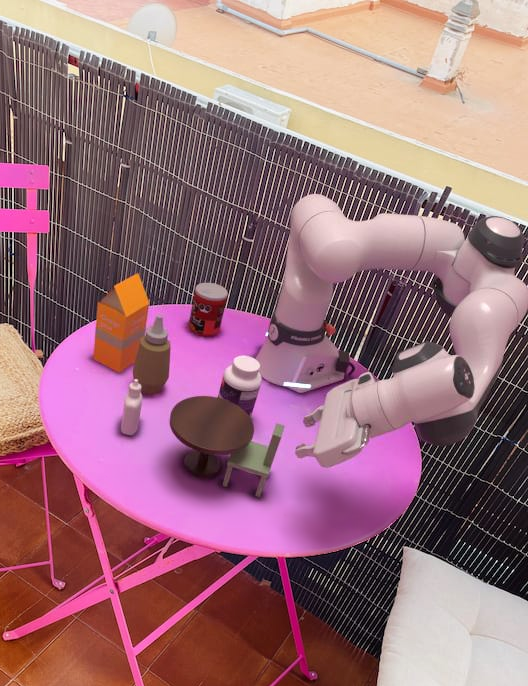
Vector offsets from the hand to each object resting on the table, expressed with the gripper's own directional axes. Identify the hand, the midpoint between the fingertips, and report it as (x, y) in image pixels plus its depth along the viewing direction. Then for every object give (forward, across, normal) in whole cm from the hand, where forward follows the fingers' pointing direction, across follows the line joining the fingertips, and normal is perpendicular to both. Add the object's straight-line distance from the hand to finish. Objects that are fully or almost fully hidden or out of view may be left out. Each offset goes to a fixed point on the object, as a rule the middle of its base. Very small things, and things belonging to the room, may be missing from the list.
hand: (301, 437), depth 124 cm
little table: (+21, 0, +2) cm, 21 cm away
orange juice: (+41, +27, +21) cm, 53 cm away
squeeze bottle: (+34, +19, +14) cm, 42 cm away
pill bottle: (+20, +18, 0) cm, 27 cm away
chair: (+15, 0, -5) cm, 16 cm away
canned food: (+31, +50, +11) cm, 59 cm away
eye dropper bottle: (+34, +4, +14) cm, 36 cm away
